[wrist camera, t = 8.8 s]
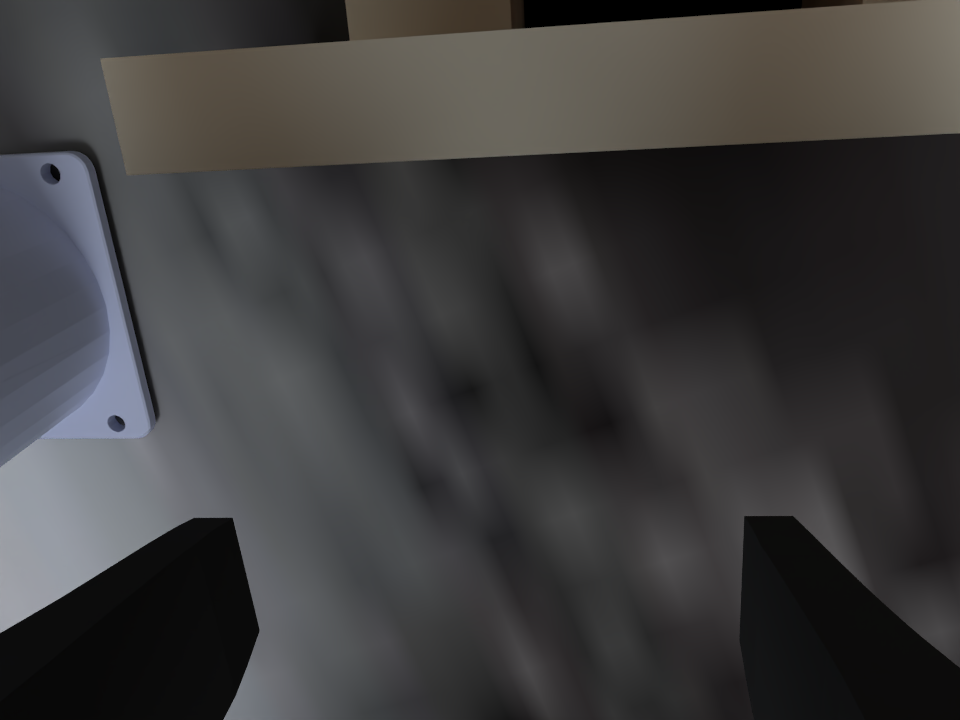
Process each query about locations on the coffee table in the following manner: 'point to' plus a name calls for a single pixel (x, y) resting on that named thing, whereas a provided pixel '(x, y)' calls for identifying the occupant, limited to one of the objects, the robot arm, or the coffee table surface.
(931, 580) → the coffee table surface
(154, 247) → the coffee table surface
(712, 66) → the book rack
